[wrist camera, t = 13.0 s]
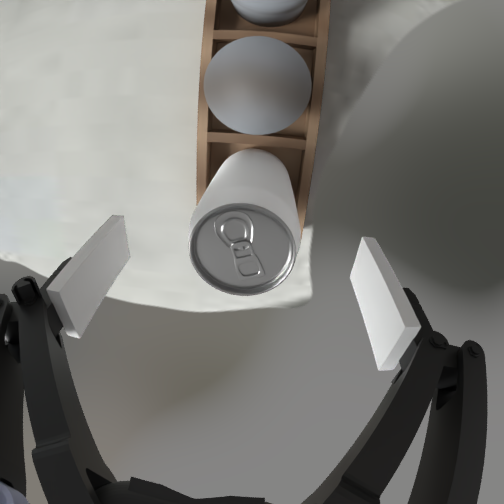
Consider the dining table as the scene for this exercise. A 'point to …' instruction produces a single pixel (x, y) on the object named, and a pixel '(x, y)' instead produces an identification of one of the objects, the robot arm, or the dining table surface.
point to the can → (246, 225)
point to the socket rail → (284, 139)
